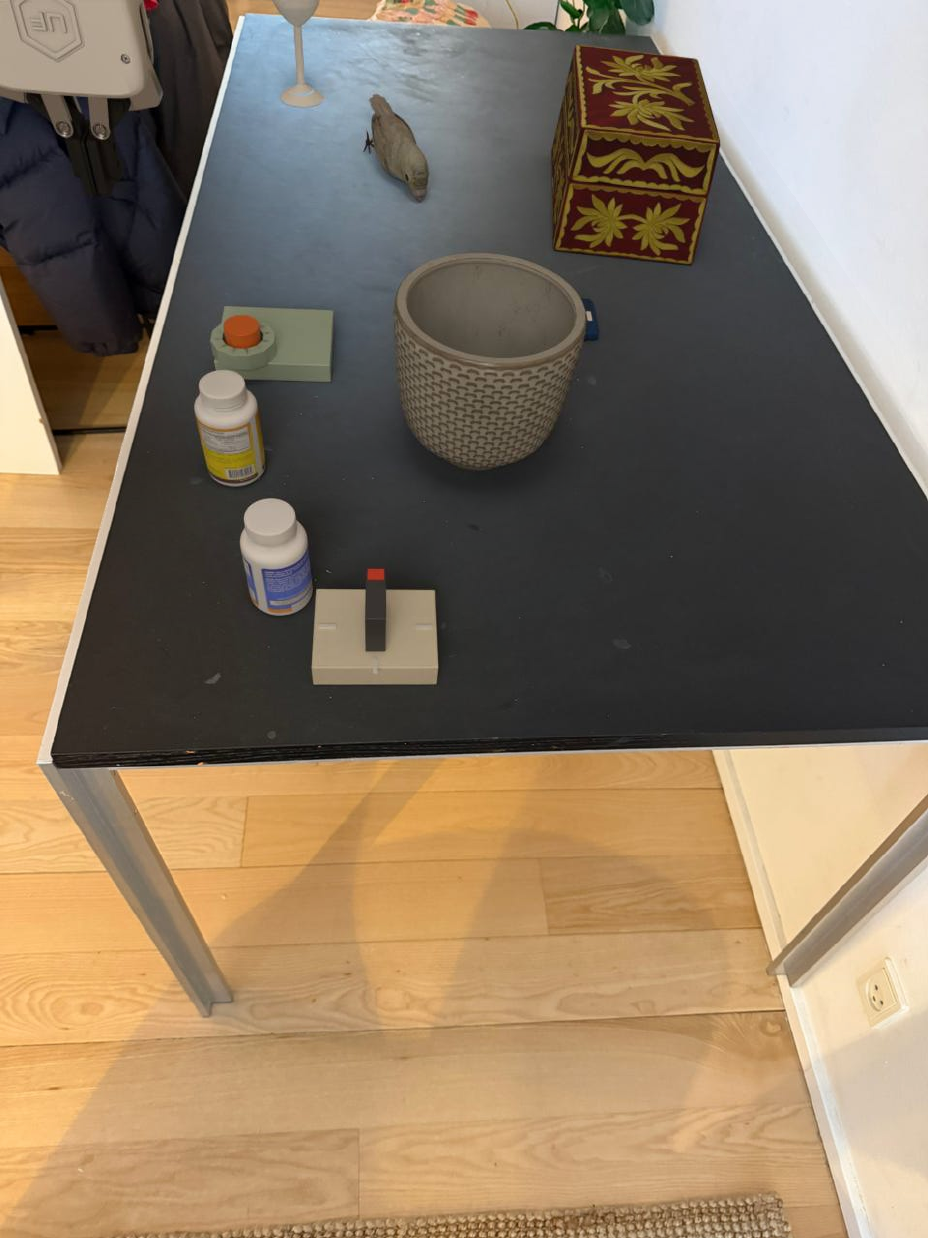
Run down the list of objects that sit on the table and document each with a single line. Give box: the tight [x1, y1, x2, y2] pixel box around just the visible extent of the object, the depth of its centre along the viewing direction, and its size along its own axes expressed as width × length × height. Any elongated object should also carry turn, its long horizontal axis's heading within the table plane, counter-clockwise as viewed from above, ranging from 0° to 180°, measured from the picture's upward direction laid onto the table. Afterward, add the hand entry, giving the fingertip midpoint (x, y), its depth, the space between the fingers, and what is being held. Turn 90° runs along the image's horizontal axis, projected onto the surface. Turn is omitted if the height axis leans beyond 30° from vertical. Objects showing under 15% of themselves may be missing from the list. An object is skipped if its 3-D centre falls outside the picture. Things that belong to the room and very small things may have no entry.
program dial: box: [364, 568, 387, 651], centre depth 69 cm, size 5×2×5 cm, turn 3°
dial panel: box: [311, 588, 439, 686], centre depth 72 cm, size 10×9×3 cm
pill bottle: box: [239, 497, 314, 617], centre depth 71 cm, size 5×5×10 cm
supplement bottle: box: [193, 370, 266, 487], centre depth 80 cm, size 6×6×10 cm
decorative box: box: [550, 44, 721, 266], centre depth 115 cm, size 28×19×15 cm
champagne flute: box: [272, 0, 324, 108], centre depth 124 cm, size 7×7×24 cm
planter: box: [392, 252, 587, 472], centre depth 83 cm, size 17×17×16 cm
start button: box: [223, 315, 261, 349], centre depth 90 cm, size 4×4×2 cm
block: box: [209, 305, 335, 383], centre depth 93 cm, size 12×11×4 cm
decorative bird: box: [362, 93, 430, 204], centre depth 118 cm, size 5×16×8 cm, turn 26°
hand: (102, 187), depth 63 cm, fingers closed
